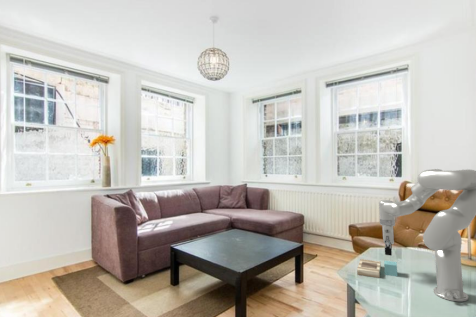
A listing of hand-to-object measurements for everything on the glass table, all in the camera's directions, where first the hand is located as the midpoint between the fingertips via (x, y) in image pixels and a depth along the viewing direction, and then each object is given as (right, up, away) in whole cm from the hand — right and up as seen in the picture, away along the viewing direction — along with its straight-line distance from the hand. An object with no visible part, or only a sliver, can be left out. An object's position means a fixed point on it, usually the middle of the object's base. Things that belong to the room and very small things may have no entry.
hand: (388, 252), depth 149 cm
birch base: (-9, -12, +5) cm, 16 cm away
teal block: (+1, -12, -1) cm, 12 cm away
